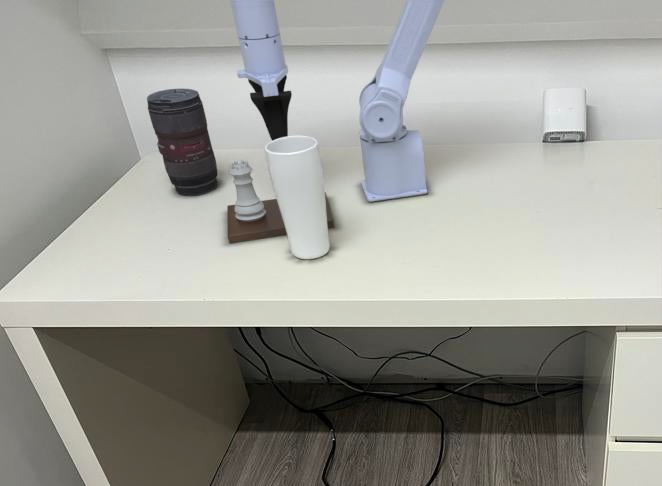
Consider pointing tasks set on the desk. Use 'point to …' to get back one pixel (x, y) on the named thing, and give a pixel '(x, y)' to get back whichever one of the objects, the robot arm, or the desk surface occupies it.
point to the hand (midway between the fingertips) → (278, 133)
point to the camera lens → (184, 140)
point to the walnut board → (263, 223)
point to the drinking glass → (300, 193)
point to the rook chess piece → (246, 194)
